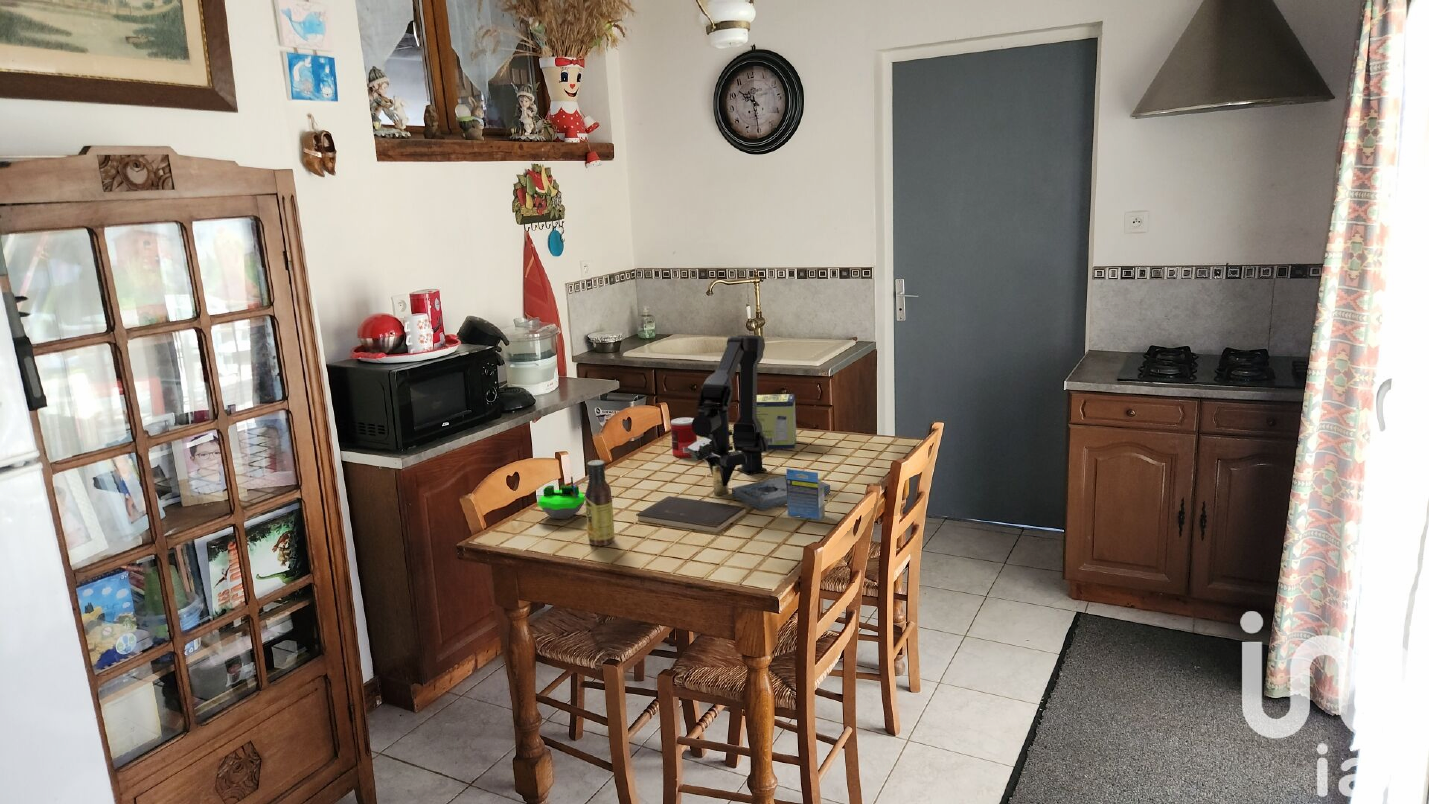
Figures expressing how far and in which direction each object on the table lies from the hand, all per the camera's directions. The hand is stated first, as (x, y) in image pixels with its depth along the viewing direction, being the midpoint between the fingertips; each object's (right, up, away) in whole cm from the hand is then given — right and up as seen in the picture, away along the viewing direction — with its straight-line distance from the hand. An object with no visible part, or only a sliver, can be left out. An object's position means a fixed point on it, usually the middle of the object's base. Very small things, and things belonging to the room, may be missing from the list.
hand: (720, 483), depth 254 cm
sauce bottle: (-28, -11, -31) cm, 43 cm away
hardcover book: (-7, -8, -16) cm, 19 cm away
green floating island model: (-41, -8, -12) cm, 43 cm away
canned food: (-11, +5, +41) cm, 43 cm away
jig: (+16, -3, -3) cm, 17 cm away
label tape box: (+21, -6, -19) cm, 29 cm away
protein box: (+17, +8, +47) cm, 50 cm away
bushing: (0, -3, +1) cm, 3 cm away
